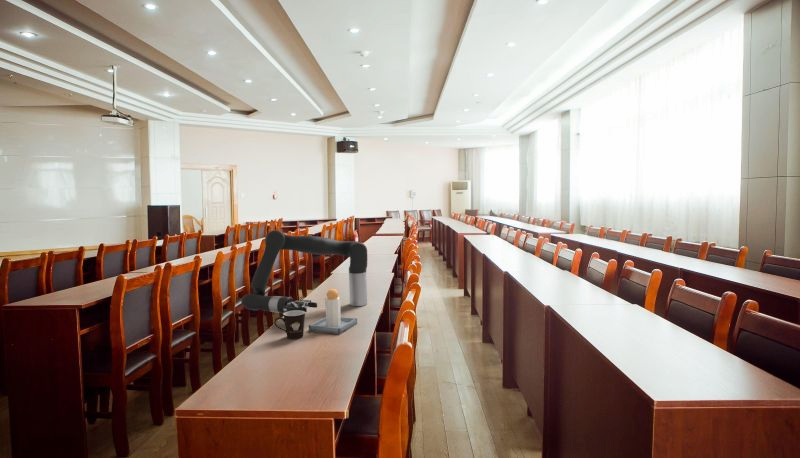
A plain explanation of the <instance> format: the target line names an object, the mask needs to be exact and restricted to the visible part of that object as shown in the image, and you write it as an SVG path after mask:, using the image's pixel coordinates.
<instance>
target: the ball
mask: <svg viewBox="0 0 800 458" xmlns="http://www.w3.org/2000/svg"><path fill="white" fill-rule="evenodd" d="M338 297H339V292H338V291H337V290H336V289H334V288H331V289H329V290H327V292H326V298H328V299H337V298H338Z"/></svg>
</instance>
